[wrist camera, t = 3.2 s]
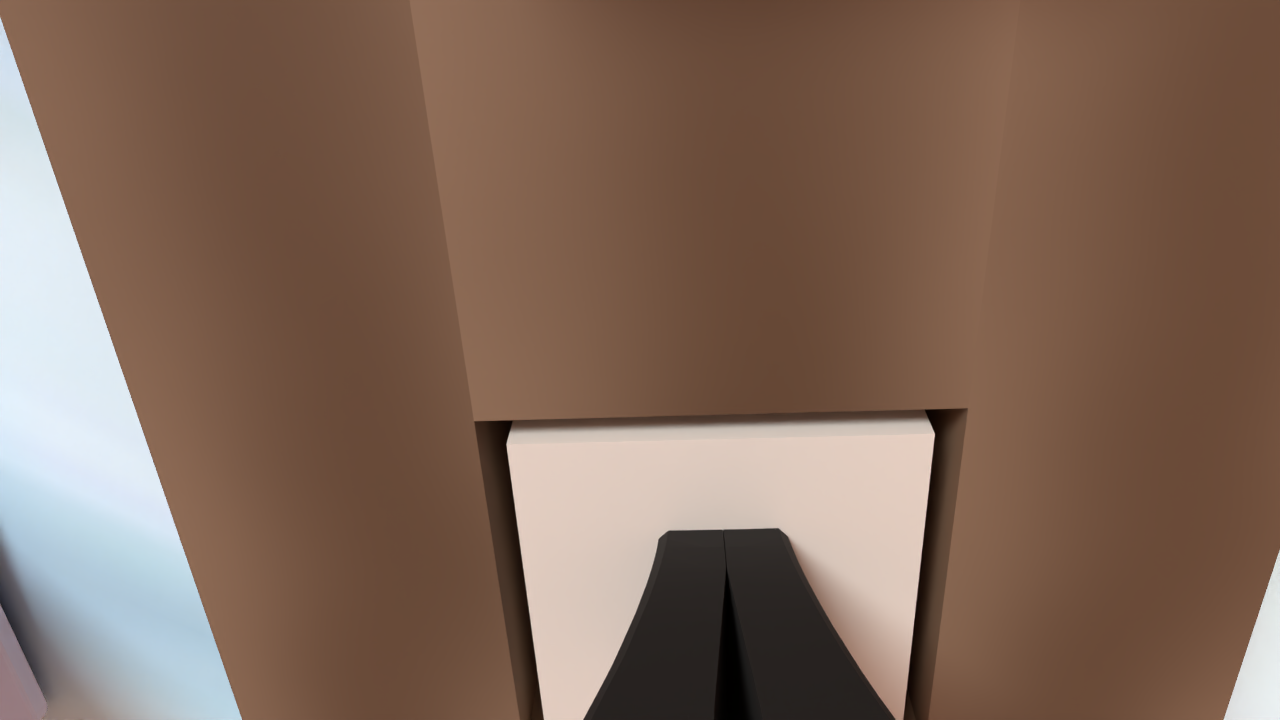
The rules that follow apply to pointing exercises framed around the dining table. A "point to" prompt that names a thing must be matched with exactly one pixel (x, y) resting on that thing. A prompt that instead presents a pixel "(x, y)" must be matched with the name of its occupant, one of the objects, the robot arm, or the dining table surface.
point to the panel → (688, 308)
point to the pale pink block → (718, 525)
